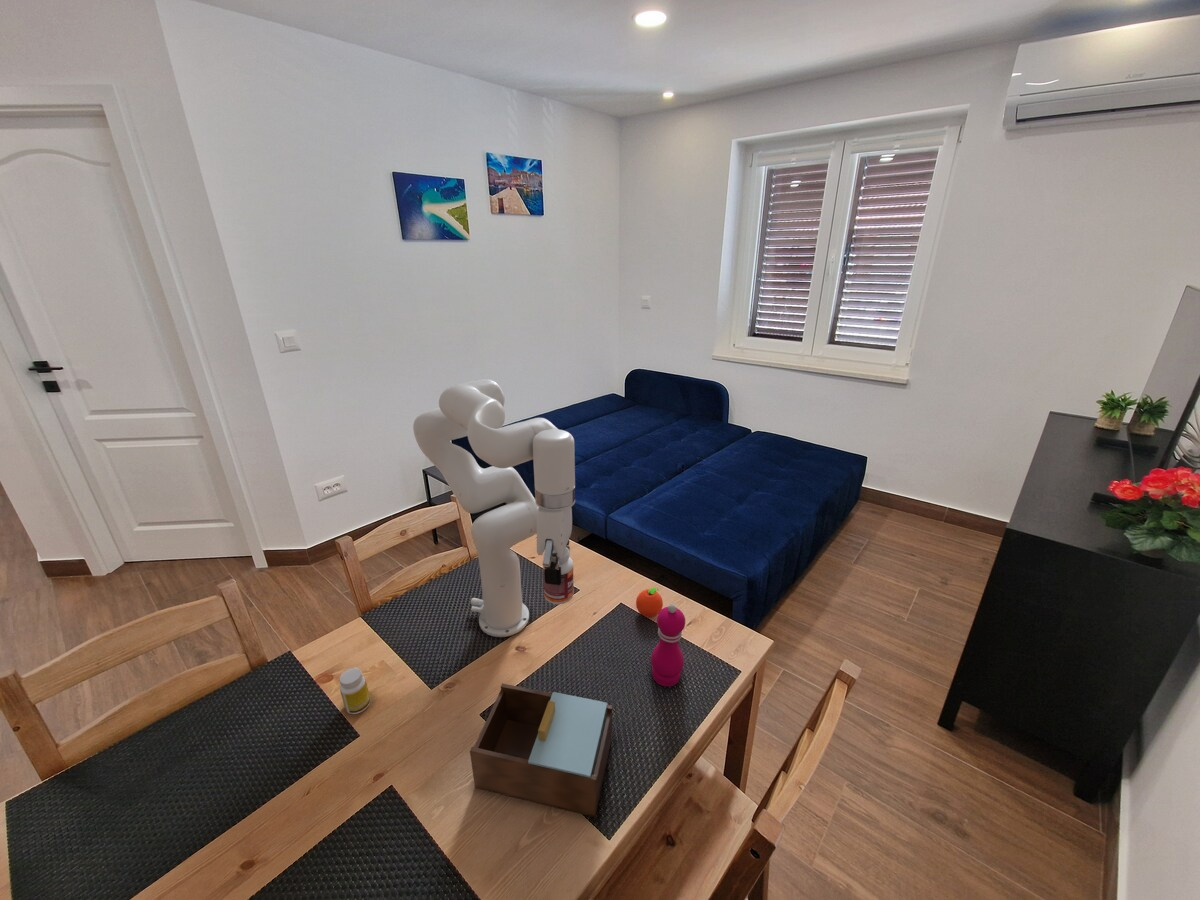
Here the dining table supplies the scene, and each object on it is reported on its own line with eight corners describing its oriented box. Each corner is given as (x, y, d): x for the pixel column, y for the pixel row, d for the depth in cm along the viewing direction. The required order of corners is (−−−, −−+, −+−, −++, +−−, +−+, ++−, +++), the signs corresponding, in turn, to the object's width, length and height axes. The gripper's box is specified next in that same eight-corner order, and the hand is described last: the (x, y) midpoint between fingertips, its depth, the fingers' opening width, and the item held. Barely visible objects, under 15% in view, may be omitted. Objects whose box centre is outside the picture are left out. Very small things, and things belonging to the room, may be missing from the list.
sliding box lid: (528, 763, 80) (527, 751, 79) (553, 693, 92) (552, 682, 91) (590, 778, 78) (590, 765, 77) (607, 704, 90) (607, 692, 89)
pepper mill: (681, 691, 105) (689, 620, 97) (648, 685, 106) (653, 614, 98) (682, 665, 111) (690, 596, 103) (651, 659, 113) (656, 591, 105)
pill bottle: (574, 605, 98) (573, 560, 94) (543, 606, 98) (541, 561, 93) (573, 584, 104) (572, 541, 99) (544, 586, 103) (542, 543, 99)
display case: (474, 787, 86) (469, 750, 82) (505, 718, 99) (502, 683, 95) (595, 817, 82) (595, 780, 78) (611, 741, 94) (612, 705, 90)
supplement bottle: (375, 700, 102) (368, 671, 99) (357, 718, 98) (348, 688, 95) (359, 691, 104) (351, 662, 100) (340, 709, 100) (331, 680, 96)
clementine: (646, 598, 132) (647, 577, 129) (668, 609, 128) (670, 587, 125) (630, 615, 126) (631, 593, 123) (653, 627, 122) (655, 605, 119)
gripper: (548, 473, 100) (551, 546, 107) (521, 516, 84) (526, 598, 91) (584, 476, 98) (584, 550, 106) (563, 520, 83) (565, 603, 90)
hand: (557, 571), depth 98 cm, fingers closed on pill bottle, 6 cm apart
